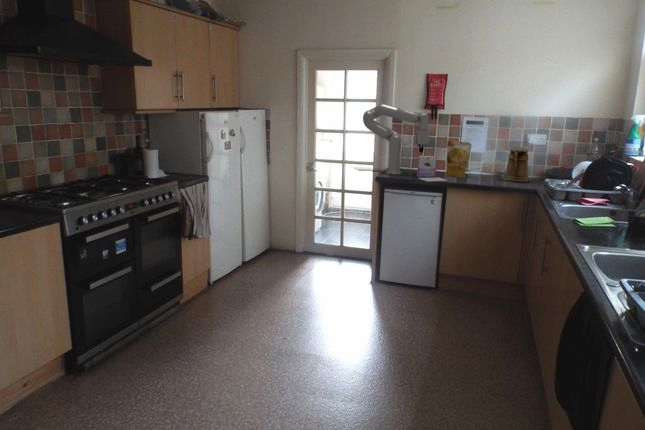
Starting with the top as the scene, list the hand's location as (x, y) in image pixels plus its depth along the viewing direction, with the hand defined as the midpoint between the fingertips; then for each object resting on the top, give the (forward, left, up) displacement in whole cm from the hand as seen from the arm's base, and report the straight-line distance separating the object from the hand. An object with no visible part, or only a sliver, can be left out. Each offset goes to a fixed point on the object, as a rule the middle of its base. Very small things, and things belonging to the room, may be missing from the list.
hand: (421, 152), depth 384 cm
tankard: (+37, +63, -18) cm, 75 cm away
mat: (+23, 0, -18) cm, 29 cm away
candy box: (+12, 0, -18) cm, 22 cm away
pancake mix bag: (+12, +26, -18) cm, 34 cm away
